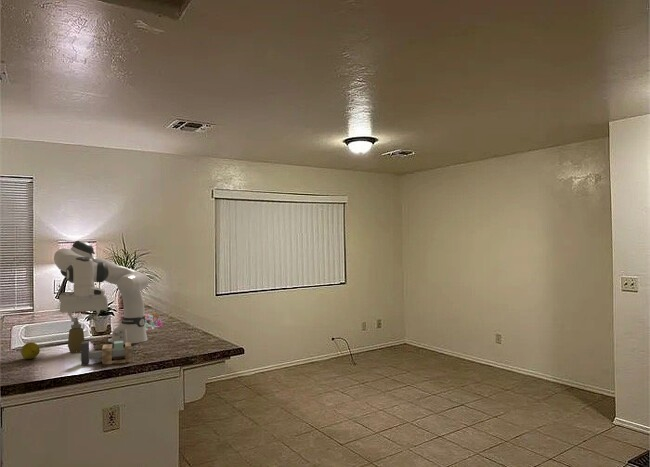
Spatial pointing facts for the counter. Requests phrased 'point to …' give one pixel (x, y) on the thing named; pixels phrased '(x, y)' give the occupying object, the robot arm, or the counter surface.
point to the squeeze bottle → (75, 337)
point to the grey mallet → (96, 353)
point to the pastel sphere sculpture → (152, 321)
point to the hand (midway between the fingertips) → (84, 320)
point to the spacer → (118, 345)
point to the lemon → (30, 350)
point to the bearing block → (108, 356)
